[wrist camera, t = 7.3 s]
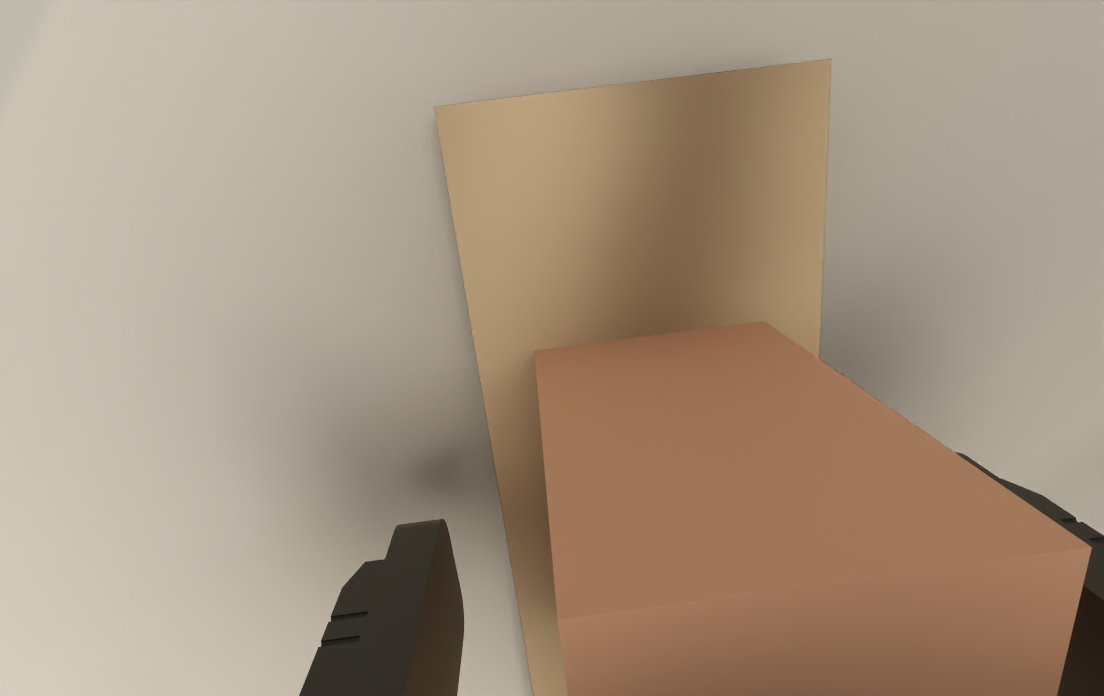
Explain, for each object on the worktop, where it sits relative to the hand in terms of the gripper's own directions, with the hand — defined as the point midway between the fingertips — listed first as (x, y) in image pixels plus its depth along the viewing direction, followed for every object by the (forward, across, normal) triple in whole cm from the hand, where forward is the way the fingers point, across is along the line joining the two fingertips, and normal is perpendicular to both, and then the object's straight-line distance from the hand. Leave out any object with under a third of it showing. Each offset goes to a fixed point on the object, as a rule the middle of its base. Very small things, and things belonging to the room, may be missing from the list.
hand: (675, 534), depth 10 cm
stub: (+3, 0, 0) cm, 3 cm away
